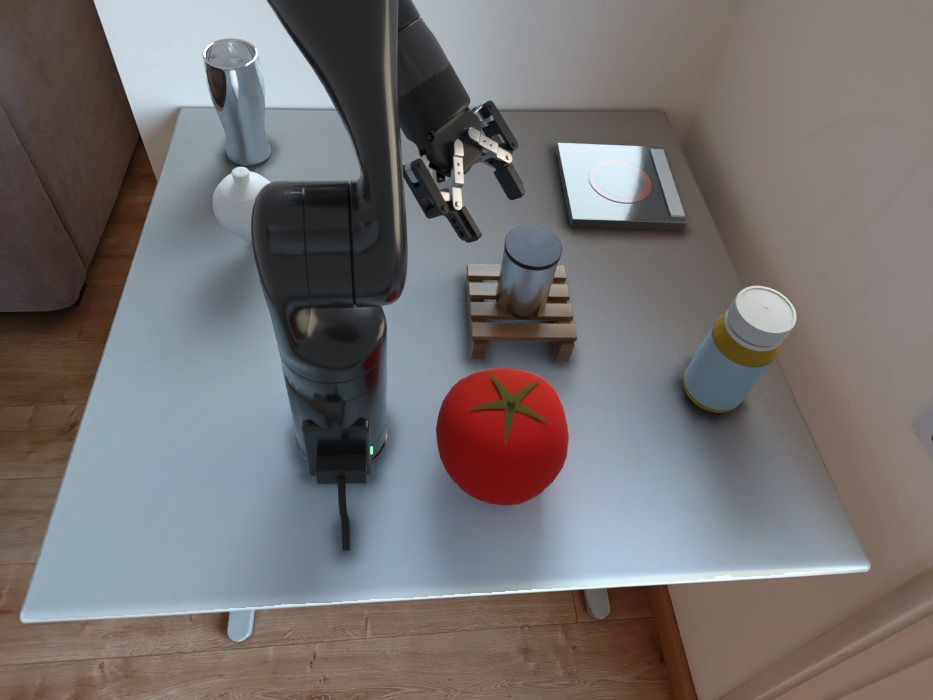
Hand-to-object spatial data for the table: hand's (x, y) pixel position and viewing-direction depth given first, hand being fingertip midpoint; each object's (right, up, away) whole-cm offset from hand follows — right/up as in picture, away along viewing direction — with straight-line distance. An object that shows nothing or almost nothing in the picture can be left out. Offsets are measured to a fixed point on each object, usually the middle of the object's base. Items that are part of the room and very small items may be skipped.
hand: (497, 217), depth 77 cm
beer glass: (-34, +13, +23) cm, 43 cm away
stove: (+18, +9, +25) cm, 33 cm away
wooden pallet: (+3, -11, +10) cm, 15 cm away
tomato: (0, -26, -2) cm, 26 cm away
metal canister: (+3, -8, +7) cm, 11 cm away
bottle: (+25, -19, +6) cm, 32 cm away
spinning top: (-30, -1, +13) cm, 32 cm away
